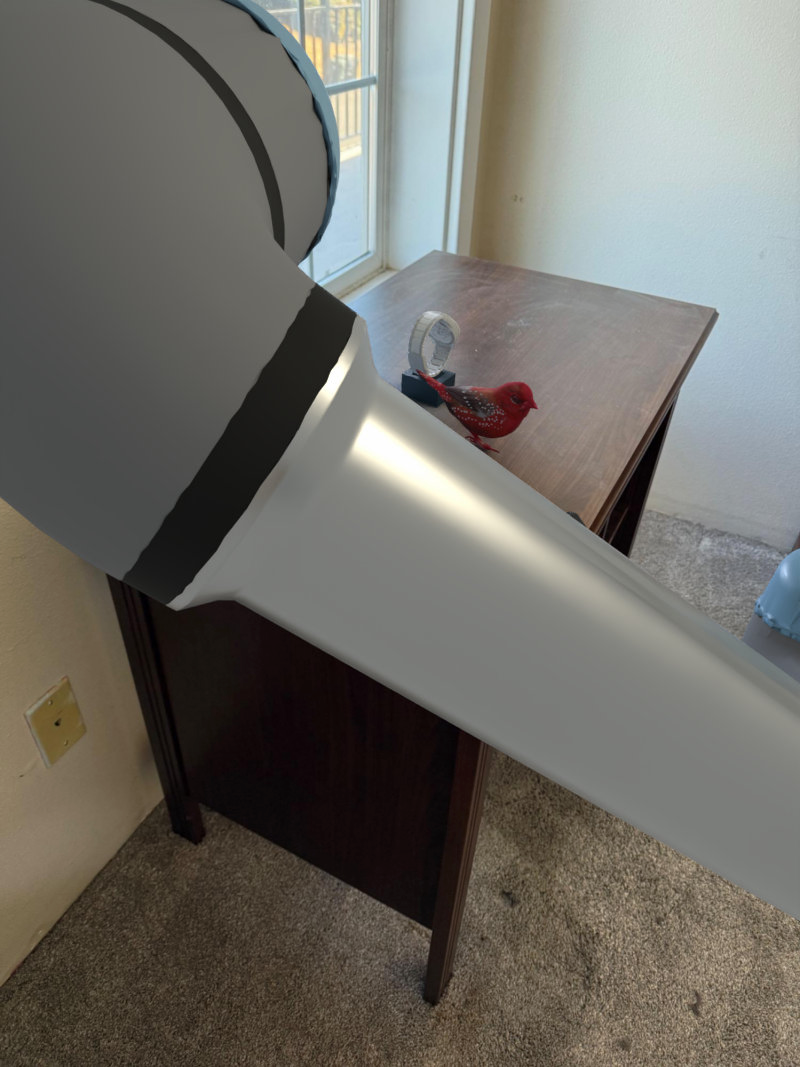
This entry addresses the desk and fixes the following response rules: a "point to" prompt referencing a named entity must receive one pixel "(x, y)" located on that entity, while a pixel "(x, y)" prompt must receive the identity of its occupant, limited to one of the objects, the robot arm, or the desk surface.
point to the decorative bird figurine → (486, 407)
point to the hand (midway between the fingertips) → (427, 523)
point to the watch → (445, 338)
